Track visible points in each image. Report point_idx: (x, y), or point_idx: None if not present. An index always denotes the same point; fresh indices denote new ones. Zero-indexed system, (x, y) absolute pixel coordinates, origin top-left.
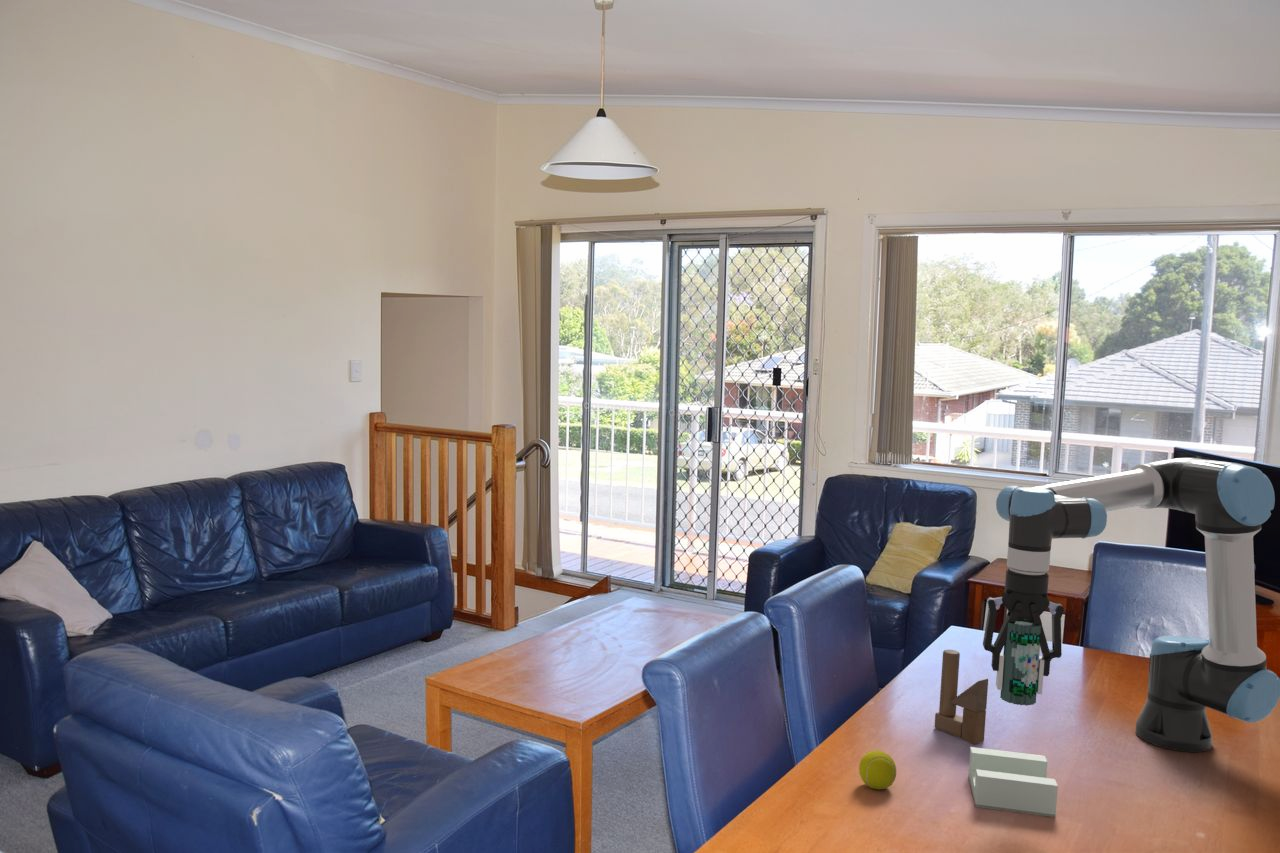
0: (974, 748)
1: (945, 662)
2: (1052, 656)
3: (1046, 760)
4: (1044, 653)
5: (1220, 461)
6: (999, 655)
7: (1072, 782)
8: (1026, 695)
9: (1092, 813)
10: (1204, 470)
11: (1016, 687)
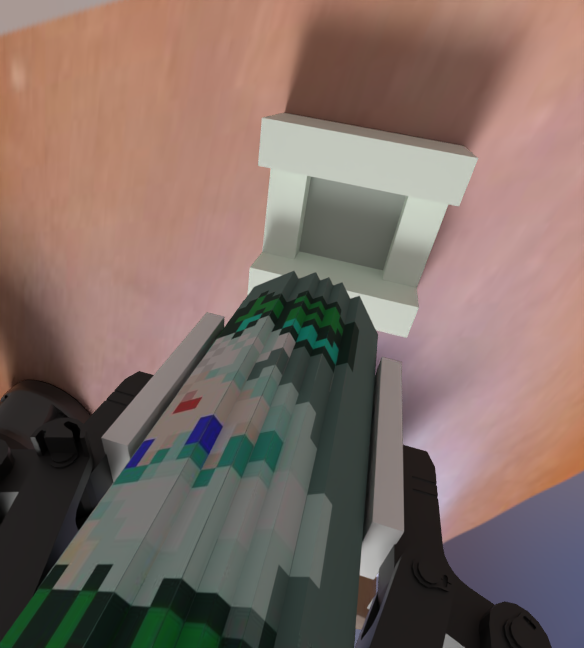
0: (400, 330)
1: (372, 593)
2: (34, 460)
3: (250, 274)
4: (67, 486)
5: None
6: (398, 541)
7: (210, 284)
8: (282, 292)
9: (201, 148)
10: None
11: (325, 325)
